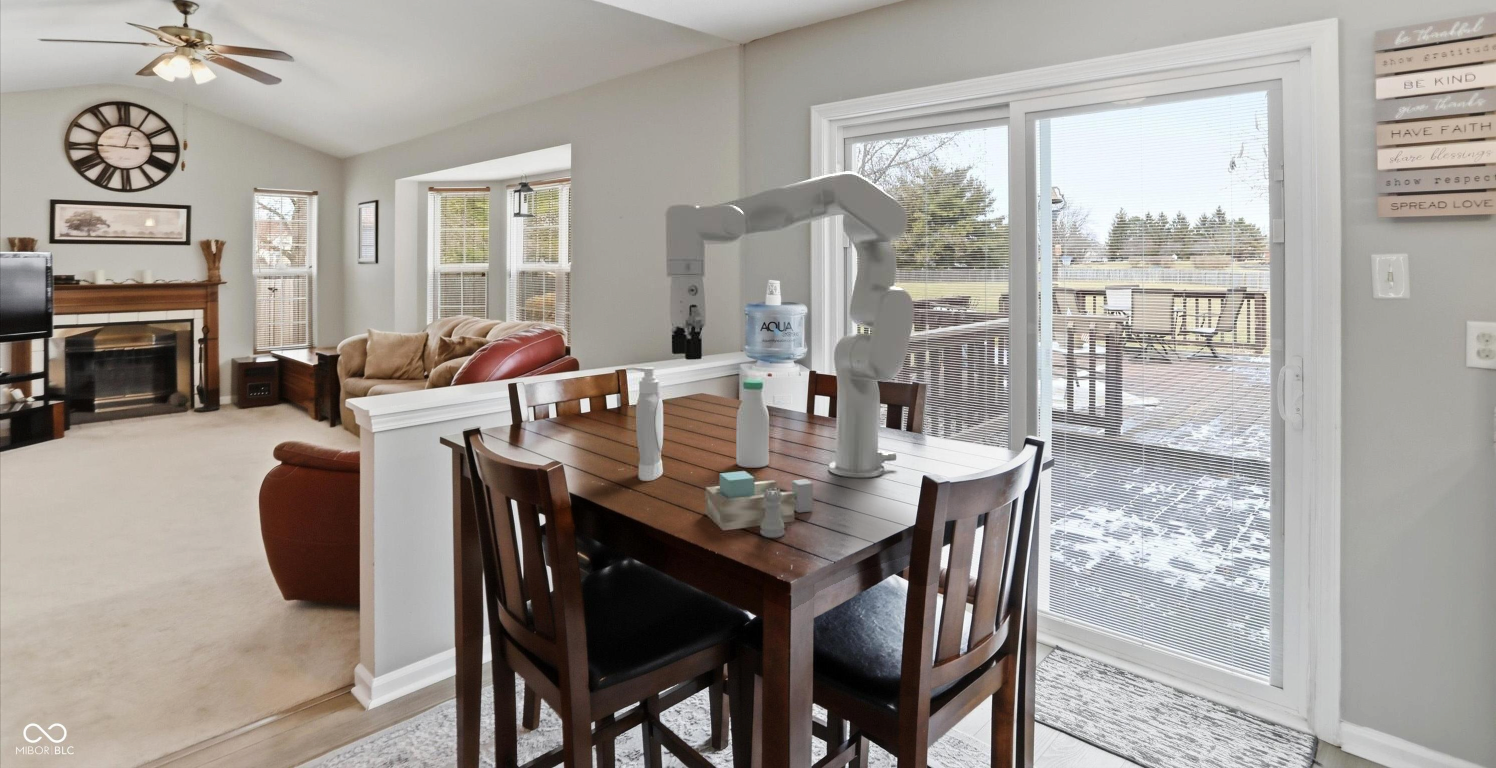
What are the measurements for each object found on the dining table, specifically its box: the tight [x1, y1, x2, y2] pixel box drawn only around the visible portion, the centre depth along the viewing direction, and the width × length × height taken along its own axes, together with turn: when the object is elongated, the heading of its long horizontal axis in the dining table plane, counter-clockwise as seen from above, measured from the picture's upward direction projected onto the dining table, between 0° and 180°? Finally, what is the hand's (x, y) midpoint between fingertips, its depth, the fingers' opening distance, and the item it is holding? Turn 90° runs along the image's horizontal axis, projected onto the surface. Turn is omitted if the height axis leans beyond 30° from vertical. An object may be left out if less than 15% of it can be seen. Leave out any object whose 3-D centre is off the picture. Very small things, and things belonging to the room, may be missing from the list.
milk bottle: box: [735, 379, 770, 469], centre depth 179 cm, size 8×8×20 cm
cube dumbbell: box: [719, 470, 814, 514], centre depth 143 cm, size 18×5×8 cm, turn 112°
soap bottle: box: [625, 366, 664, 482], centre depth 169 cm, size 13×8×24 cm, turn 174°
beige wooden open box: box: [704, 479, 795, 531], centre depth 142 cm, size 14×10×5 cm
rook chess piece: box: [759, 487, 786, 539], centre depth 133 cm, size 4×4×8 cm
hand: (686, 356), depth 152 cm, fingers open, 9 cm apart
